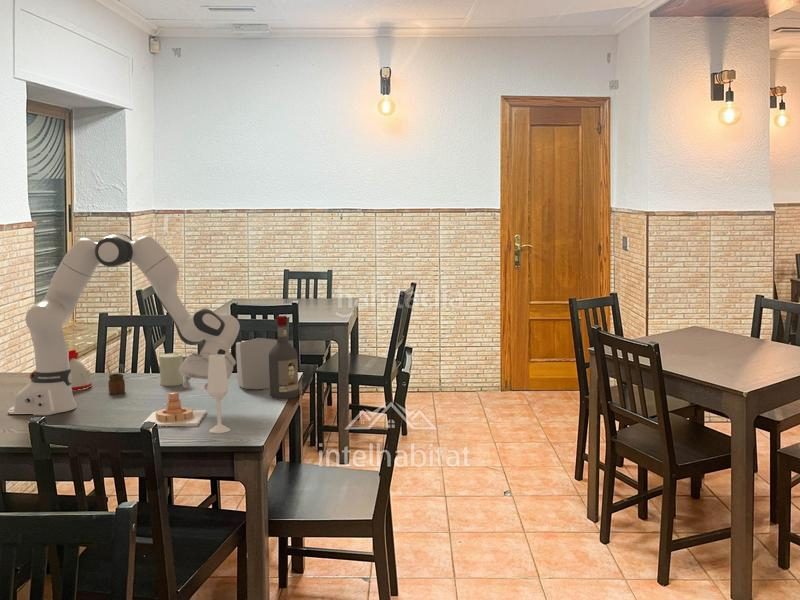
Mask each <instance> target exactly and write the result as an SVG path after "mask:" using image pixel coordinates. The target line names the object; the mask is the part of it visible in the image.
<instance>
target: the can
mask: <svg viewBox="0 0 800 600" xmlns="http://www.w3.org/2000/svg"><path fill="white" fill-rule="evenodd" d="M158 359H159V375H160V377H159V378H160V383H159V384H160V385H161V386H164V387H174V386H180V385H183V382H184V377H183V376H182V375H181V374H180V373H179V367H180V366H181V364H182V363H183V361H184V360H183V354H182V353H179V352H178V353H176V352H174V353H173V352H170V353H164V354H160V355H159V356H158Z"/></svg>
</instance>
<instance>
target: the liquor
mask: <svg viewBox="0 0 800 600" xmlns="http://www.w3.org/2000/svg"><path fill="white" fill-rule="evenodd" d="M276 325H277V339H276V340H277V343H276V345H275V346H274V347H273V348H272V350H271V351H270V353H269V377H270V388H269V396H270V398H271V397H272V399H275V398H276V400H279V399H285V400H291V399H294V398H297V397H298V395H299V372H298V371H299V367H298V365H299V364H298V363H299V362H298V352H297V349H295V348H294V346H293V345H292V344H291V343H290V342H289V340H288V326H287V325H288V317H287V315H277V316H276Z"/></svg>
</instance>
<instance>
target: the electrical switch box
mask: <svg viewBox="0 0 800 600" xmlns="http://www.w3.org/2000/svg"><path fill="white" fill-rule="evenodd" d="M277 340H278V339H273V338H265V337H264V338H263V337H257V338H253V339H248V340H244V341H237V342H236V343H235V357H236V359H235V360H236V371H237V383H238V387H239V388H242V389H247V390H249V389H250V390H258V389H263V390H267V389H270V377H269V353H270V351H271V350H272V348H273V347H274V346H275V345H276V343H277Z"/></svg>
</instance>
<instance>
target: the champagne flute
mask: <svg viewBox="0 0 800 600" xmlns="http://www.w3.org/2000/svg"><path fill="white" fill-rule="evenodd" d="M207 383H208V386H207V390H206V391H207V394H208V395H209V396H210V397H211V398H212V399H213V400H215V401H216V413H217V414H216V415H217V416H216V417H217V424H216V425H215V426H213V427H211V429H209V430H208V431H210V432H209V433H212V432H213V433H212V434H222V433H227V432H229V431H231V428H229V427H228V426H226V425H223V424H222V409H221V408H222V407H221V406H222V405H221V404H222V403H221V400H223V399H224V398H225V397H227V395H228V393H229V390H230V388H229V379H227V371H226V364H225V357H224V355H221V354H216V355H210V356H209V367H208V380H207Z"/></svg>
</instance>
